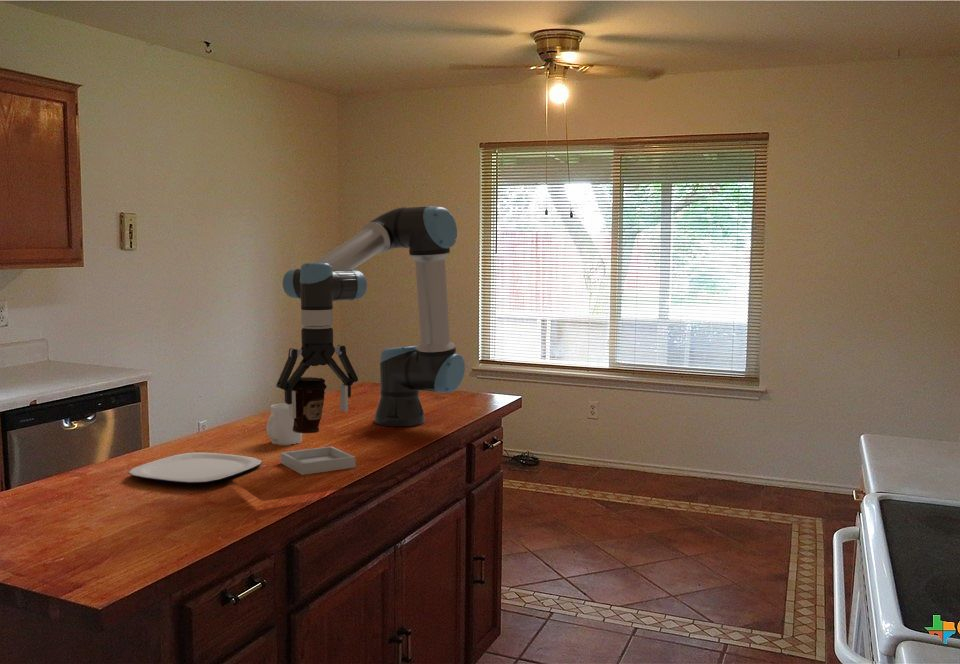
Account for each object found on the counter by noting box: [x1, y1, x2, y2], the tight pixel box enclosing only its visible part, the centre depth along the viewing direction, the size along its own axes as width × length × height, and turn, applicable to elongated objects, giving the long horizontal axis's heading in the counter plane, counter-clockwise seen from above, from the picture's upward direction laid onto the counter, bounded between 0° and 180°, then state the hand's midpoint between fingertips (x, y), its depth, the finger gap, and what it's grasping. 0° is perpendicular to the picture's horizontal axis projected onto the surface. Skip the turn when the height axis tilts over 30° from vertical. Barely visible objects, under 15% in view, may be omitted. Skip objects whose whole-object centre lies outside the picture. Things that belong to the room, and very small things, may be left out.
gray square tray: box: [280, 445, 356, 476], centre depth 201 cm, size 14×14×3 cm
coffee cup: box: [292, 376, 328, 434], centre depth 198 cm, size 9×8×13 cm
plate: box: [128, 451, 263, 484], centre depth 194 cm, size 25×25×2 cm
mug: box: [266, 402, 303, 446], centre depth 223 cm, size 12×8×10 cm
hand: (318, 414), depth 200 cm, fingers open, 13 cm apart
